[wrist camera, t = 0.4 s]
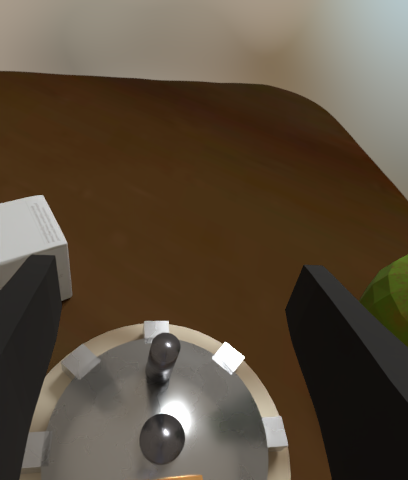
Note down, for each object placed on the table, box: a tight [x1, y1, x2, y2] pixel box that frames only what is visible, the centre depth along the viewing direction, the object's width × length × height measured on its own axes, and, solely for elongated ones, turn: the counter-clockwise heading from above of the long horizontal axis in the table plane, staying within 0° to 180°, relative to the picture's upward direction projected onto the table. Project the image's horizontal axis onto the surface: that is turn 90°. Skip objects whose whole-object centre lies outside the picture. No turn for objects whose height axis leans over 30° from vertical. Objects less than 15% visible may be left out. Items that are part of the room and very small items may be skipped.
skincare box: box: [0, 195, 72, 301], centre depth 31 cm, size 6×6×7 cm
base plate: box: [19, 324, 291, 480], centre depth 27 cm, size 20×20×1 cm
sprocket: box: [21, 321, 288, 480], centre depth 25 cm, size 18×18×6 cm
